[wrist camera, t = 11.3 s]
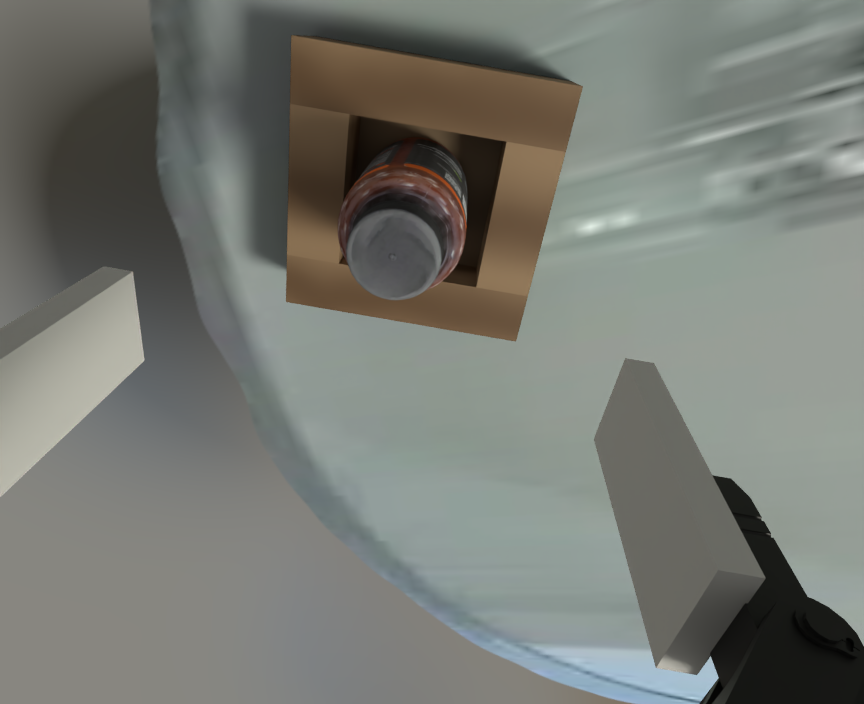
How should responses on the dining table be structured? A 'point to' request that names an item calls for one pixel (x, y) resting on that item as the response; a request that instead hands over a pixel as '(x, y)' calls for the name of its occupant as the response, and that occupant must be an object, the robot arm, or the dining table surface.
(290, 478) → the dining table surface
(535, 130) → the holder block
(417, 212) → the supplement bottle
